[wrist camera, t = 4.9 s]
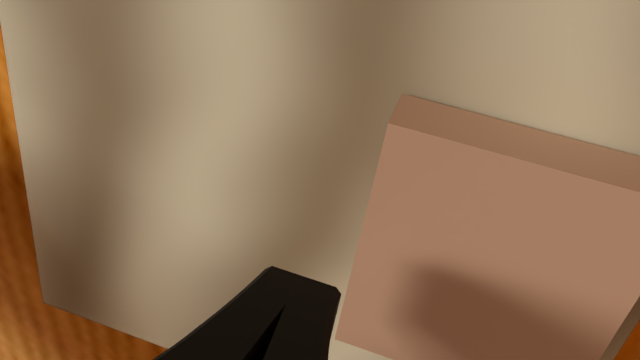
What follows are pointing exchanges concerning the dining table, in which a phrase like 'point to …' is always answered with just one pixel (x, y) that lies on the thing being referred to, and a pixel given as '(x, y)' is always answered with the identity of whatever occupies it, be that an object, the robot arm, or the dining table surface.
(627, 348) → the dining table surface
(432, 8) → the board
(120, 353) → the dining table surface
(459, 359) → the block
